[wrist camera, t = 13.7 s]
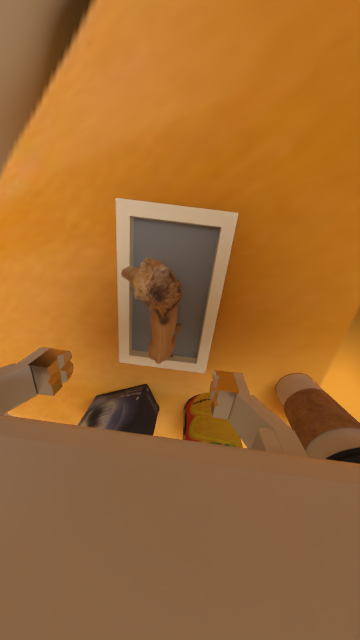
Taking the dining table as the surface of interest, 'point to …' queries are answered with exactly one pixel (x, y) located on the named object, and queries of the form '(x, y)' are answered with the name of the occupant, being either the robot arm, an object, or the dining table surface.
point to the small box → (123, 411)
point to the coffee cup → (319, 420)
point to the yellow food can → (207, 424)
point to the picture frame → (186, 263)
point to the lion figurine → (157, 304)
